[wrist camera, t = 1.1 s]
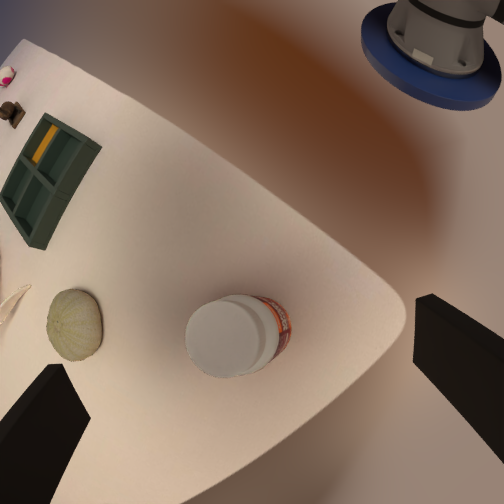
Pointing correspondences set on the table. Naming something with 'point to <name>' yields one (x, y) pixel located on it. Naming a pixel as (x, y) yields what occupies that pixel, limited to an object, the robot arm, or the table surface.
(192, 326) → the pill bottle
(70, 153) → the grid
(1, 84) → the stress ball
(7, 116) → the figurine
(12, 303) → the pear ornament
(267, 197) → the table surface
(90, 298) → the sea urchin shell
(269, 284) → the table surface
